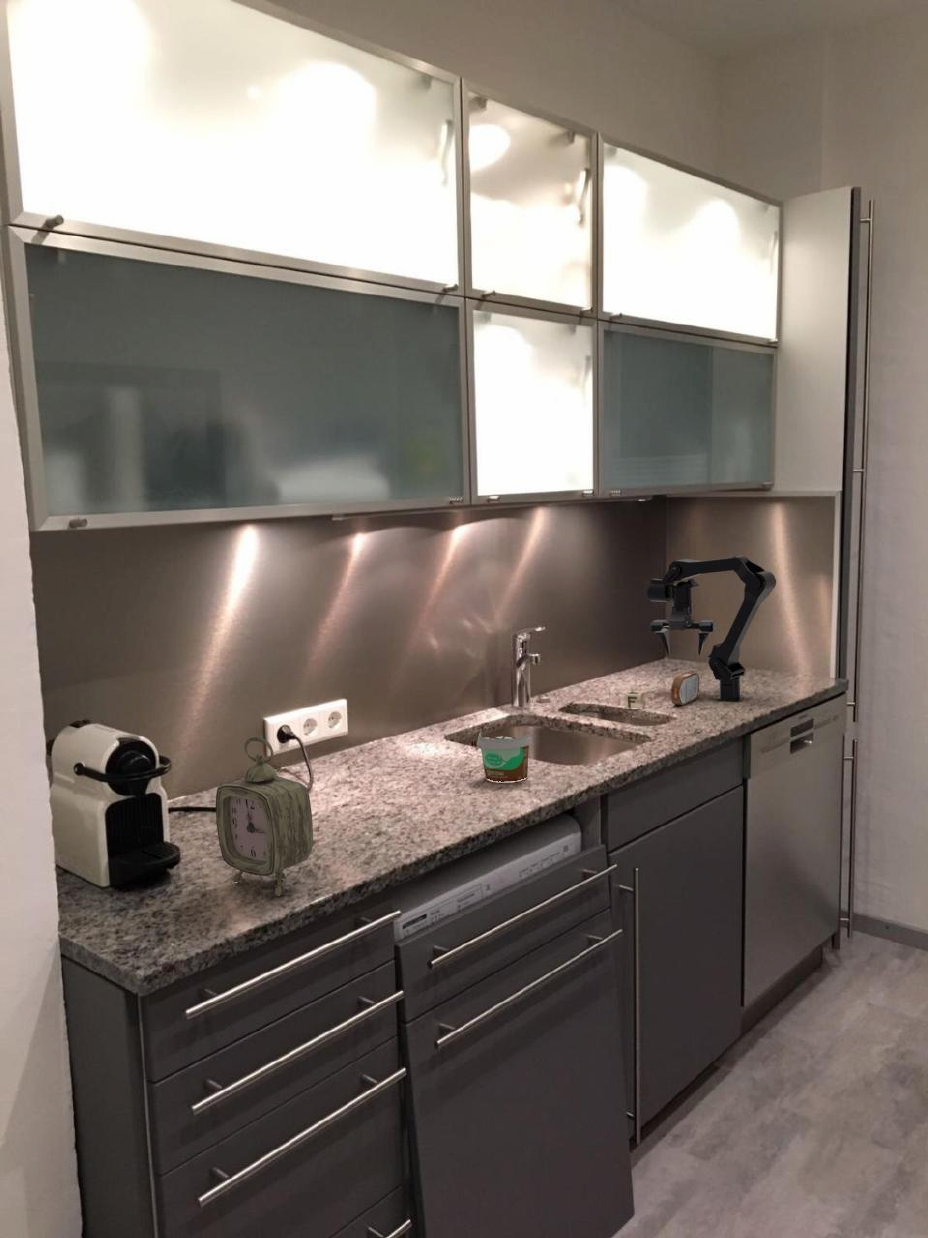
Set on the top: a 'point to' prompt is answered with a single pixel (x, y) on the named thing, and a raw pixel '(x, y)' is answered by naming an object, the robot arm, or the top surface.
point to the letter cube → (635, 699)
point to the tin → (685, 688)
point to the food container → (505, 757)
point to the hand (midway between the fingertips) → (684, 654)
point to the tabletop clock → (264, 821)
